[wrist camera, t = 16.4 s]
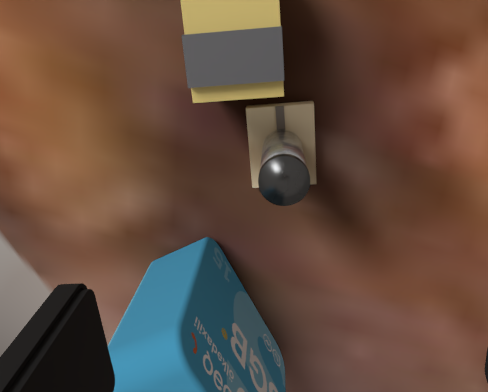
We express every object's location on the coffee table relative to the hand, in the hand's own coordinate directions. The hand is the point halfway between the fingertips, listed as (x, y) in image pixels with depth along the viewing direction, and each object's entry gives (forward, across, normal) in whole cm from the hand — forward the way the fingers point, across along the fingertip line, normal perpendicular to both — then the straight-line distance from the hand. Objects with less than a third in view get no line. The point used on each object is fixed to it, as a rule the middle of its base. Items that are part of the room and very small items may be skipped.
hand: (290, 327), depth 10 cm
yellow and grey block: (+19, +2, -6) cm, 20 cm away
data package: (+19, +5, +13) cm, 23 cm away
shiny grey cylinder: (+18, 0, +1) cm, 18 cm away
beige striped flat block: (+19, 0, +1) cm, 19 cm away
